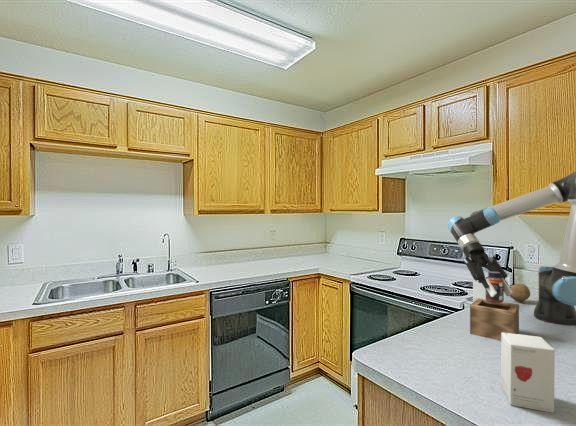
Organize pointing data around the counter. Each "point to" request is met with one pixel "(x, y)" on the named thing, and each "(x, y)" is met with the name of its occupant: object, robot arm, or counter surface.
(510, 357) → the supplement box
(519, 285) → the natural sponge
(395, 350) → the counter surface
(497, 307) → the box
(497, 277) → the supplement bottle
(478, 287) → the supplement box
